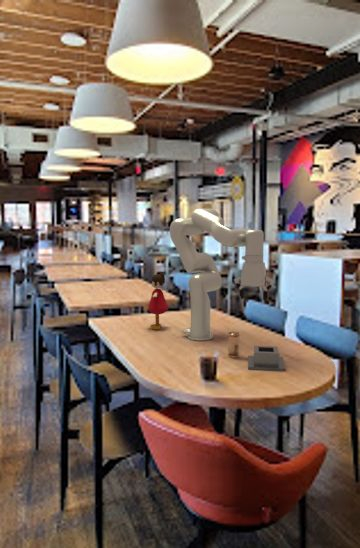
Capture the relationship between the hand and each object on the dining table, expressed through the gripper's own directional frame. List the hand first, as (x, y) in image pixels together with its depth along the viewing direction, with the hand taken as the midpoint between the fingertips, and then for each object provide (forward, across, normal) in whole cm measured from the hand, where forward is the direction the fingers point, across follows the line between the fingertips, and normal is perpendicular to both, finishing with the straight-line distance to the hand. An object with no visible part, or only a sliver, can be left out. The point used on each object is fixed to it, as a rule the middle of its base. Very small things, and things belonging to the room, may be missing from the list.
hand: (253, 299), depth 180 cm
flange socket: (+23, +9, -14) cm, 28 cm away
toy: (+23, -56, +20) cm, 64 cm away
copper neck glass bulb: (+23, -6, -9) cm, 26 cm away
